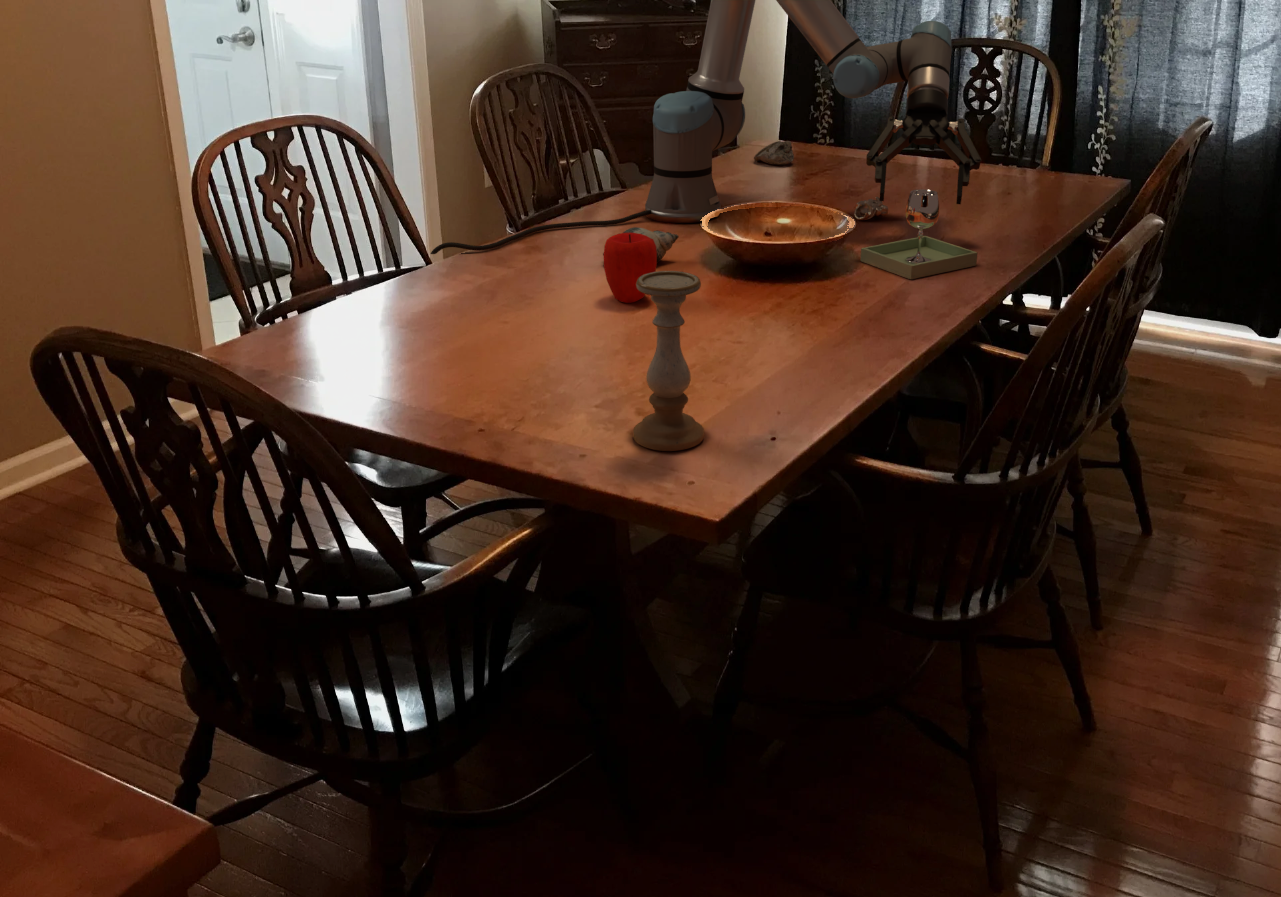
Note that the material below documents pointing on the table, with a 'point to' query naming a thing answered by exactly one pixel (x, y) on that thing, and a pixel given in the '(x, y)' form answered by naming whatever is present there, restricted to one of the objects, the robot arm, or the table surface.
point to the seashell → (657, 239)
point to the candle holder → (668, 366)
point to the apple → (628, 264)
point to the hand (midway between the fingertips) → (920, 198)
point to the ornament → (870, 209)
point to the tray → (937, 250)
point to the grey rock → (776, 153)
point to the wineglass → (921, 216)
